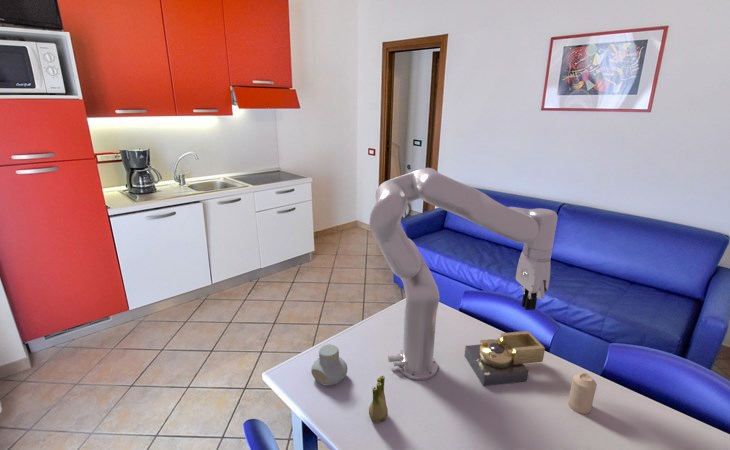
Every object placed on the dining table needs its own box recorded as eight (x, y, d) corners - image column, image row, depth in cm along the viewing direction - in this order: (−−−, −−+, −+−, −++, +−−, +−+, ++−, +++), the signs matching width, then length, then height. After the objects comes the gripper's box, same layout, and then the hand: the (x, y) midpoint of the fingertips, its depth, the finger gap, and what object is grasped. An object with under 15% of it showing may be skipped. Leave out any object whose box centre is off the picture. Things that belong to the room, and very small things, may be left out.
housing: (483, 386, 109) (484, 374, 108) (464, 355, 122) (465, 345, 121) (526, 381, 111) (528, 370, 110) (503, 352, 124) (505, 341, 123)
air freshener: (307, 377, 112) (305, 349, 109) (325, 363, 119) (324, 336, 116) (334, 393, 106) (333, 364, 103) (352, 377, 112) (351, 349, 109)
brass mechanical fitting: (487, 369, 110) (489, 354, 108) (473, 348, 119) (475, 334, 118) (543, 363, 112) (546, 349, 111) (525, 343, 122) (527, 330, 120)
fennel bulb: (374, 428, 94) (375, 391, 91) (363, 416, 98) (363, 379, 95) (392, 418, 98) (393, 381, 94) (380, 406, 102) (381, 370, 98)
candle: (569, 396, 105) (575, 367, 102) (591, 404, 102) (598, 375, 99) (566, 408, 101) (572, 378, 98) (589, 417, 98) (596, 387, 95)
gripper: (511, 242, 112) (504, 296, 118) (540, 263, 98) (531, 322, 103) (533, 241, 113) (525, 294, 119) (566, 261, 99) (555, 320, 104)
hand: (528, 307), depth 111 cm, fingers closed
